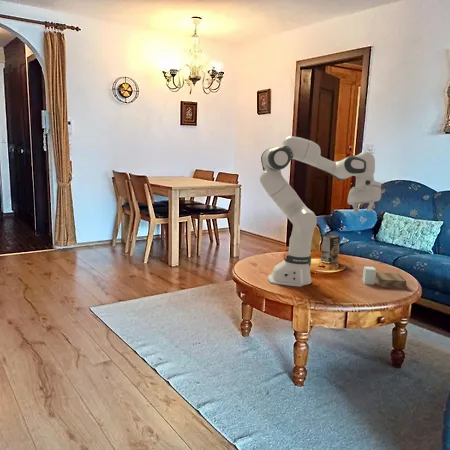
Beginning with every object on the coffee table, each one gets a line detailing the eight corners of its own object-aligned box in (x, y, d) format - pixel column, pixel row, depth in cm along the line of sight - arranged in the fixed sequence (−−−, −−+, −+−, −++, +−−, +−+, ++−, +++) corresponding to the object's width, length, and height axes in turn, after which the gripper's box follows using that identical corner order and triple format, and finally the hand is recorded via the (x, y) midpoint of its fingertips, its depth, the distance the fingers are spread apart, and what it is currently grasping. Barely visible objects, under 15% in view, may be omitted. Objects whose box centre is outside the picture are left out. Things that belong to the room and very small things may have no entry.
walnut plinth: (381, 287, 219) (381, 279, 218) (375, 279, 230) (375, 272, 230) (405, 288, 218) (406, 281, 217) (398, 280, 229) (399, 273, 229)
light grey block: (364, 283, 223) (366, 269, 221) (362, 280, 228) (363, 266, 226) (374, 284, 222) (375, 269, 221) (371, 281, 227) (373, 266, 226)
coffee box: (329, 264, 254) (331, 238, 251) (320, 262, 259) (322, 236, 255) (338, 262, 260) (340, 236, 256) (329, 259, 265) (331, 234, 261)
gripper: (345, 186, 226) (343, 212, 225) (374, 180, 208) (372, 208, 206) (355, 188, 229) (353, 214, 227) (384, 183, 210) (382, 210, 209)
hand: (362, 211), depth 217 cm, fingers open, 8 cm apart
